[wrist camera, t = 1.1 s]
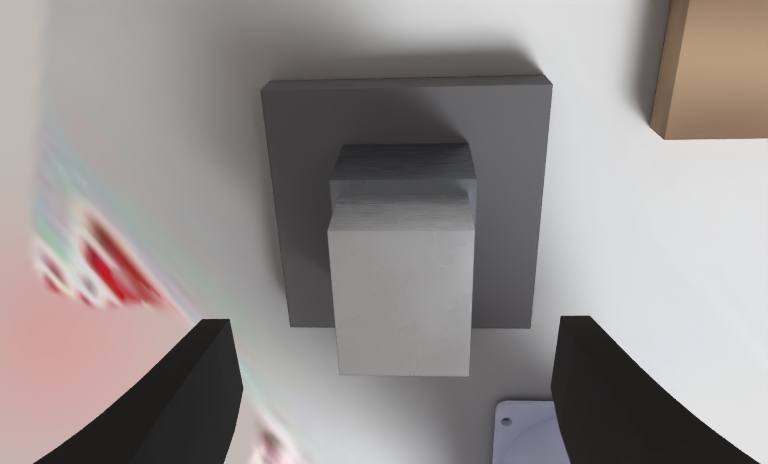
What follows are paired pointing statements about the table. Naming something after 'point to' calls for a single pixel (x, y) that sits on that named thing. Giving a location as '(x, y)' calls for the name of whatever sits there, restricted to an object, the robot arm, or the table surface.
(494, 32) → the table surface
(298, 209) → the stand
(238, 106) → the table surface
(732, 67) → the stand
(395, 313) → the housing
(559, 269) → the table surface
